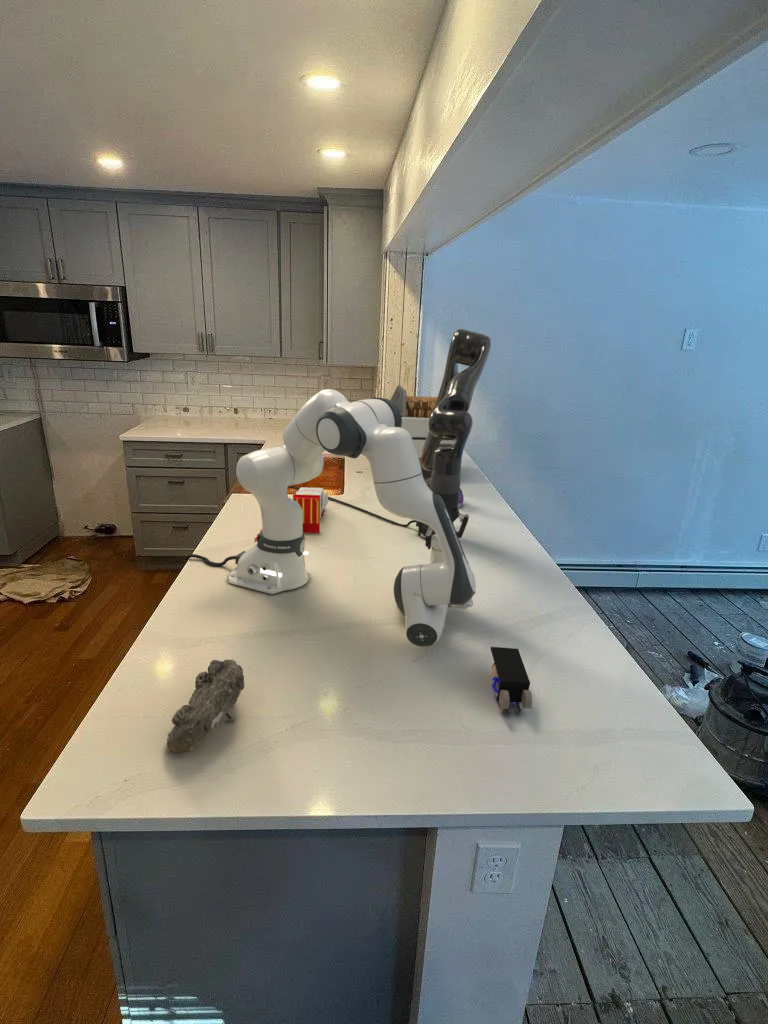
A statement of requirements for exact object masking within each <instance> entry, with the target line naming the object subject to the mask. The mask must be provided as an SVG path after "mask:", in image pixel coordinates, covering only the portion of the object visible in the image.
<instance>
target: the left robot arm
mask: <svg viewBox="0 0 768 1024" xmlns="http://www.w3.org/2000/svg"><path fill="white" fill-rule="evenodd" d="M401 425H402V416H401V412H400V410H399V408H398V406H397V405H396V404H395V403H394V402H393V401H391V399H388V398H385V397H376V396H375V397H369V398H363V399H359V400H354V401H351V402H349V400H348V399H347V398H346V397H345V396H344V394H343V393H341V392H339V391H338V390H336V389H333V388H325V389H322V390H320V391H318V392H317V393H316V394H314V395H313V396H311V398H310V399H308V400H307V401H306V402H305V403H304V404H303V405H302V407H300V409H299V410H298V411H297V413H296V414H295V415H294V416H293V417H292V419H291V420H290V421H289V423H288V424H287V425H286V426H285V428H284V430H283V432H282V441H283V444H282V445H278V446H273V447H268V448H262V449H257V450H255V451H252V452H249V453H247V454H245V455H242V456H241V457H240V458H239V459H238V461H237V463H236V466H235V467H236V468H235V476H236V479H237V481H238V483H239V485H240V486H241V487H242V488H243V489H244V490H245V491H247V492H248V493H250V494H251V495H252V496H254V498H255V499H256V501H257V503H258V505H259V510H260V514H261V529H260V531H259V532H258V533H257V534H256V537H254V539H253V540H254V542H253V543H256V544H254V545H253V546H252V547H250V548H249V549H247V550H242V551H241V552H239V553H238V554H235V555H230V556H228V557H226V558H225V559H224V560H223V561H222V562H216V561H215V562H214V561H211V560H210V559H209V558H207V557H206V556H203V555H201V554H200V555H199V554H197V553H190V554H187V555H186V556H184V557H183V560H189V559H191V558H193V559H194V558H195V559H199V560H202V561H204V562H205V563H206V564H208V565H209V566H213V567H223V566H225V565H226V564H227V563H228V561H231V560H232V561H233V560H234V562H235V563H234V564H235V565H236V567H235V568H234V569H233V570H232V571H231V572H230V573H229V575H228V583H229V584H232V585H235V586H239V587H242V588H246V589H249V590H250V589H251V590H254V591H258V592H262V593H266V594H269V595H275V594H278V593H281V592H283V591H290V590H291V591H292V590H294V589H298V588H301V587H303V586H304V585H306V584H307V583H308V582H309V579H310V577H309V575H308V571H307V567H306V561H305V556H306V555H309V552H308V551H305V548H306V541H305V533H304V532H303V513H302V508H301V506H300V505H299V503H298V502H296V501H295V500H293V498H291V497H289V496H288V488H289V487H288V486H296V485H301V484H305V483H307V482H310V481H311V480H313V479H315V478H317V477H319V476H320V475H321V474H322V472H323V470H324V462H325V461H324V456H323V453H324V452H327V453H328V454H331V455H335V456H342V457H348V458H351V459H357V458H358V457H359V456H360V455H362V456H363V457H365V458H366V460H367V461H368V463H369V465H370V466H369V467H370V469H371V475H372V481H373V485H374V486H373V487H374V491H375V494H376V498H377V500H378V503H379V504H380V505H381V507H382V508H383V509H384V510H386V511H387V512H388V513H390V514H392V515H393V516H395V517H399V518H403V519H407V520H411V521H412V520H416V521H419V522H422V523H425V524H427V525H428V526H430V527H431V528H432V529H433V530H434V531H435V533H436V535H437V537H438V540H439V543H440V545H441V548H442V551H443V553H444V556H445V559H446V562H443V563H435V564H430V563H427V564H423V563H422V564H415V565H407V566H403V567H402V568H401V569H400V570H399V571H398V573H397V575H396V577H395V579H394V582H393V597H394V602H395V603H396V605H395V606H396V610H398V611H400V613H401V614H402V615H403V616H405V617H404V619H405V625H404V627H405V628H404V630H405V631H404V632H405V637H406V639H407V640H408V641H409V642H410V643H411V644H412V645H414V646H416V647H421V648H422V647H423V648H425V647H431V646H433V645H434V644H436V643H437V642H438V641H439V639H440V638H441V636H442V634H443V631H444V627H445V624H446V617H447V614H448V609H449V608H450V609H455V610H467V609H469V608H473V607H474V600H473V597H474V595H475V594H476V590H477V589H476V587H477V584H476V583H477V581H476V578H475V574H474V572H473V569H472V568H471V566H470V564H469V561H468V559H467V557H466V555H465V552H464V549H463V547H462V543H461V541H460V538H458V535H457V533H456V532H457V529H456V528H455V525H453V524H454V522H452V519H451V517H450V514H449V512H448V509H447V507H446V505H445V503H444V501H443V499H442V498H441V496H440V495H438V494H436V493H433V492H432V491H431V490H430V489H429V487H428V486H427V484H426V483H425V480H426V479H425V478H424V475H423V470H422V469H423V468H422V466H421V464H420V460H419V457H418V453H417V450H416V447H415V445H414V442H413V439H412V437H411V435H410V433H409V432H408V431H407V430H405V429H403V428H401Z"/></svg>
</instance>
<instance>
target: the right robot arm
mask: <svg viewBox="0 0 768 1024" xmlns="http://www.w3.org/2000/svg"><path fill="white" fill-rule="evenodd" d="M491 347H492V340H491V337H490V336H488V335H486V334H484V333H480V332H476V331H472V330H470V329H469V330H468V329H465V328H458V329H456V330H455V331H454V333H453V335H452V336H451V340H450V343H449V349H448V353H447V357H446V363H445V368H444V372H443V377H442V382H441V385H440V388H439V391H438V394H437V397H438V398H437V401H436V405H435V409H434V410H433V412H432V414H431V416H430V418H429V423H428V427H429V433H428V435H427V438H426V440H425V443H424V446H423V449H422V454H421V465H422V466H421V468H422V469H423V470H424V471H428V472H429V471H430V472H431V475H430V477H429V478H427V479H424V480H425V483H426V484H427V486H428V487H429V489H430V490H431V491H432V492H433V493H436V494H438V495H440V496H441V498H442V499H443V501H444V503H445V505H446V507H447V509H448V512H449V514H450V517H451V519H452V522H453V525H454V522H455V521H456V520H457V519H459V523H460V526H459V529H458V531H457V530H456V533H457V535H458V538H459V539H461V538H463V535H464V532H465V530H466V528H467V525H468V522H469V519H470V515H469V514H467V513H465V514H463V513H460V511H459V508H458V502H459V492H460V489H461V474H460V470H461V471H462V462H461V461H463V460H462V459H463V453H464V450H465V446H466V444H467V441H468V439H469V436H470V434H471V431H472V428H473V424H474V423H473V422H474V421H473V416H472V415H471V413H470V412H469V410H470V407H471V404H472V400H473V395H474V392H475V389H476V387H477V384H478V382H479V380H480V378H481V376H482V374H483V371H484V369H485V367H486V364H487V361H488V359H489V356H490V351H491ZM458 365H463V366H466V367H467V368H465V369H464V370H462V371H460V372H459V366H458ZM443 438H449V439H456V442H455V444H453V445H452V444H450V443H440V442H441V441H442V439H443ZM287 488H290V489H294V490H296V491H298V490H299V489H300V488H301V487H297V486H294V485H292V486H288V487H287ZM323 496H324V494H323ZM328 500H330V501H334V502H337V503H339V504H342V505H345V506H347V507H351V508H353V509H356V510H358V511H361V512H363V513H366V514H369V515H371V516H374V517H376V518H379V519H380V520H383V521H386V522H388V523H391V524H393V525H396V526H398V527H403V528H408V527H409V526H410V525H411V524H414V523H415V526H416V527H417V528H418V530H417V535H418V536H420V538H421V539H424V540H425V544H424V545H425V547H427V550H431V549H432V546H431V537H432V535H435V534H436V533H435V531H434V530H433V529H432V528H431V527H430V526H428V525H427V524H425V523H422V522H419V521H416V520H412V519H411V520H409V521H408V522H407V524H401V523H399V522H396V521H394V520H391V519H389V518H386V517H383V516H381V515H380V514H379V515H378V514H376V513H373V512H371V511H369V510H366V509H364V508H362V507H359V506H356V505H353V504H351V503H348V502H346V501H343V500H339V499H337V498H334V497H330V496H328ZM454 526H455V525H454Z"/></svg>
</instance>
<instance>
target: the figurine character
mask: <svg viewBox="0 0 768 1024" xmlns="http://www.w3.org/2000/svg"><path fill="white" fill-rule="evenodd" d="M490 653H491V655H492V659H493V663H492V665H491V667H490V673H491V676H492V684H491V688H492V689H493V692H494V693H495V695H496V702H499V704H498V705H499V708H500V709H502V710H503V712H504V713H505V714H507V713H508V709H509V708H510V704H515V707H516V708H515V709H516V711H517V713H519V714H521V713H522V708H523V709H527V710H528V709H529V710H530V709H532V707H533V695H532V691H531V690H530V686H531V681H530V679H529V675H528V673H527V670H526V667H525V664H524V662H523V657H522V655H521V652H520V649H519V648H514V647H501V646H490ZM497 685H498V687H497ZM520 704H521V705H520ZM521 706H522V708H521Z"/></svg>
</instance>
